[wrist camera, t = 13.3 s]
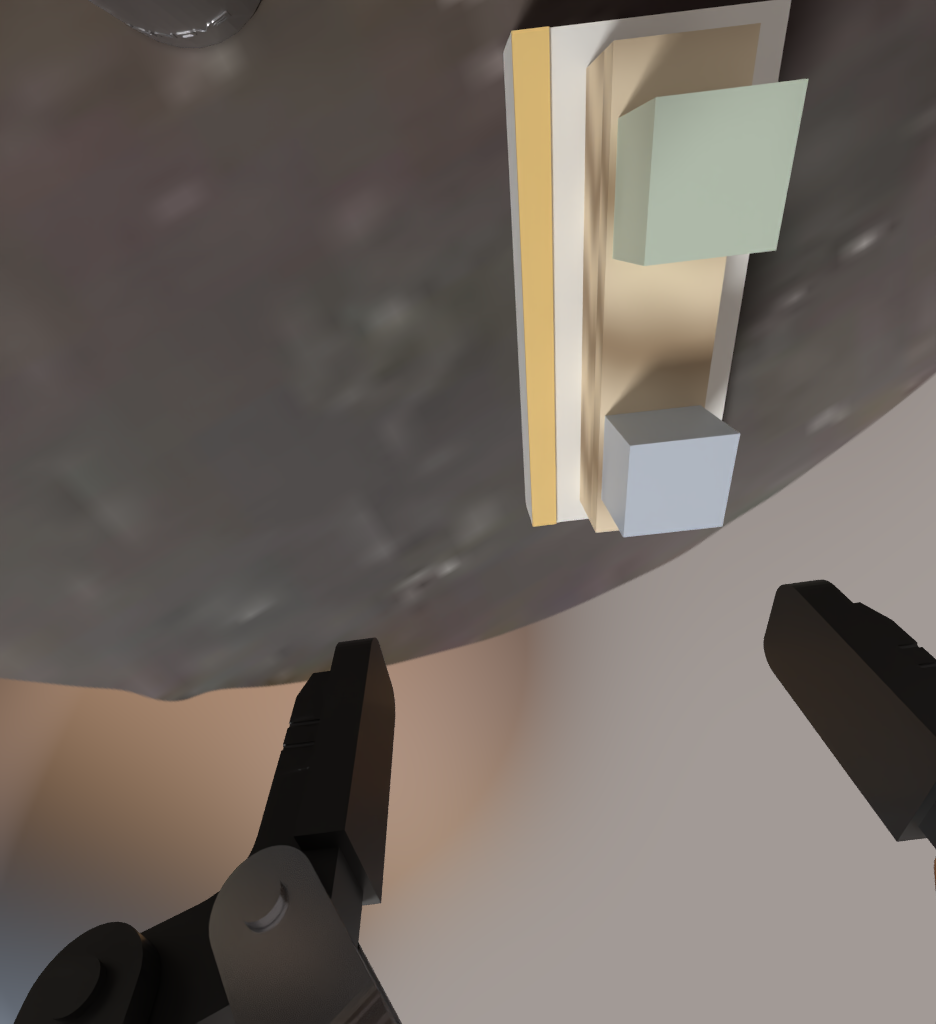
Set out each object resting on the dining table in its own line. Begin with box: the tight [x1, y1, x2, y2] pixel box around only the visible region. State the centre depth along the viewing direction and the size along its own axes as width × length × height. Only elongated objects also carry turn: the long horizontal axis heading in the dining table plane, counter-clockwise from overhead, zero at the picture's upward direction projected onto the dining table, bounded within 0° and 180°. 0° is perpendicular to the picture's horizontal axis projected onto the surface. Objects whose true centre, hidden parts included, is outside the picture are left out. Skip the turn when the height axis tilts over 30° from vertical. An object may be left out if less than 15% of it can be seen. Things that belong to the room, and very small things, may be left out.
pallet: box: [580, 23, 761, 533], centre depth 26 cm, size 22×6×4 cm, turn 6°
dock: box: [503, 0, 791, 526], centre depth 29 cm, size 25×12×3 cm, turn 6°
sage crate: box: [612, 79, 808, 266], centre depth 19 cm, size 5×5×4 cm
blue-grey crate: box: [601, 405, 740, 537], centre depth 26 cm, size 5×5×4 cm
